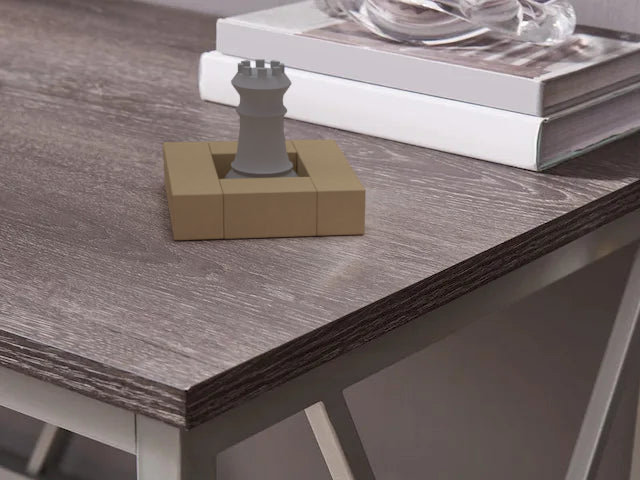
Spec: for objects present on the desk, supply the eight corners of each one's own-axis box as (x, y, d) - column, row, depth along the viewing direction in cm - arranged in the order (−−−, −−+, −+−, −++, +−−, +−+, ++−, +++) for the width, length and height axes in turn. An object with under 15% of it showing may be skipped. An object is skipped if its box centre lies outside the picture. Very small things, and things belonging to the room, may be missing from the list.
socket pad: (174, 241, 67) (172, 194, 66) (164, 183, 76) (162, 141, 75) (364, 234, 69) (365, 189, 68) (333, 179, 78) (334, 138, 77)
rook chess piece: (318, 210, 73) (319, 67, 69) (253, 225, 70) (251, 76, 66) (270, 191, 76) (269, 52, 72) (206, 204, 73) (202, 61, 69)
